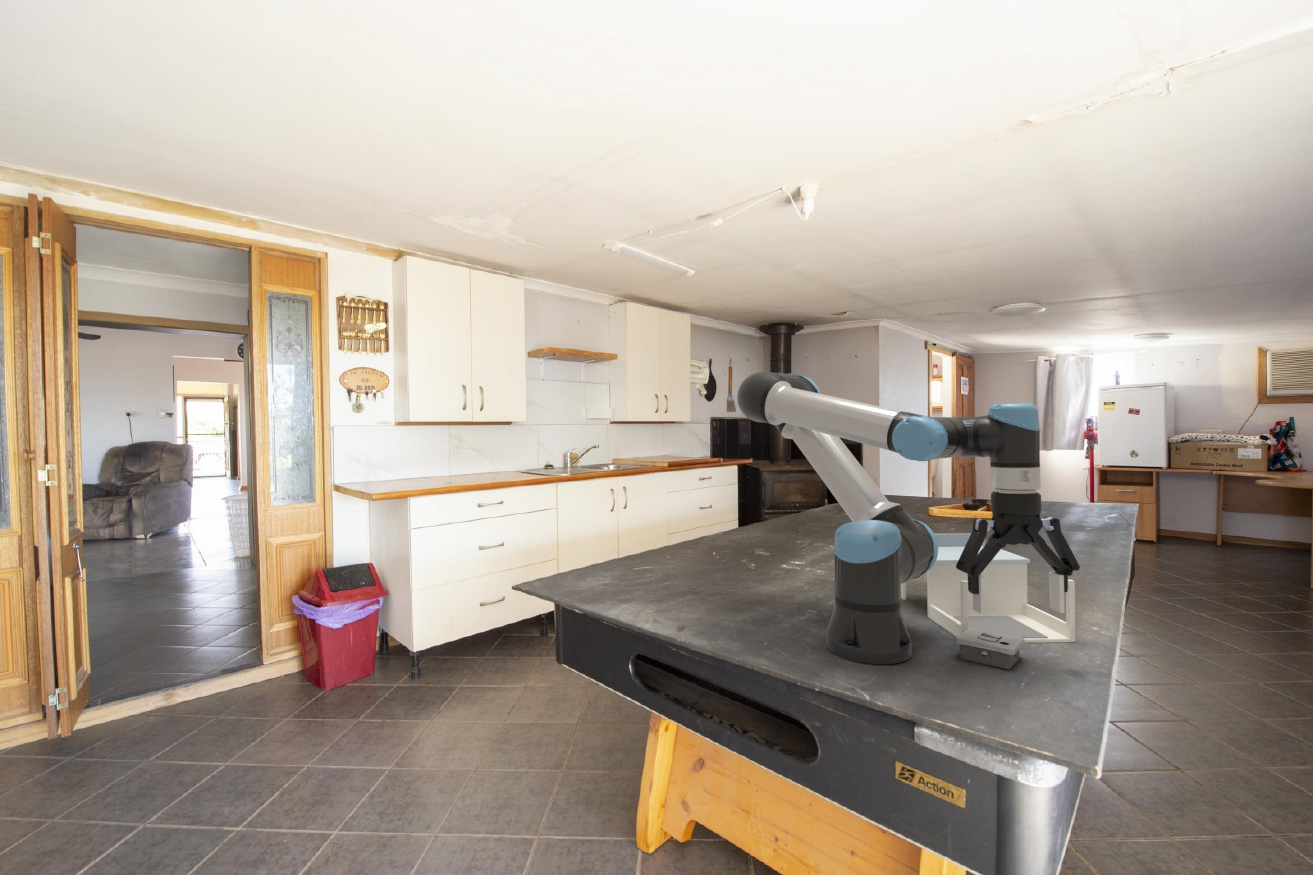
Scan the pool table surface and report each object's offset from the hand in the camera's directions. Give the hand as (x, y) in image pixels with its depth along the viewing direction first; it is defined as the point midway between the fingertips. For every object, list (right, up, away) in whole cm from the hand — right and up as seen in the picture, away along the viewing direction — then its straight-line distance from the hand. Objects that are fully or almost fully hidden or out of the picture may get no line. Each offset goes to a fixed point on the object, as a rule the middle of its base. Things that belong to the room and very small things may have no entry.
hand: (1018, 611), depth 100 cm
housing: (+7, -9, +25) cm, 28 cm away
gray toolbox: (0, -10, 0) cm, 10 cm away
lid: (+7, +3, +32) cm, 33 cm away
